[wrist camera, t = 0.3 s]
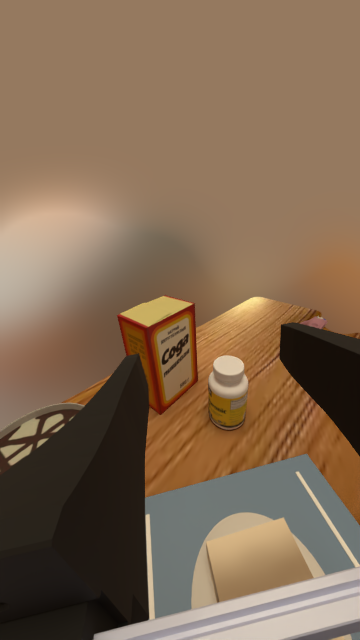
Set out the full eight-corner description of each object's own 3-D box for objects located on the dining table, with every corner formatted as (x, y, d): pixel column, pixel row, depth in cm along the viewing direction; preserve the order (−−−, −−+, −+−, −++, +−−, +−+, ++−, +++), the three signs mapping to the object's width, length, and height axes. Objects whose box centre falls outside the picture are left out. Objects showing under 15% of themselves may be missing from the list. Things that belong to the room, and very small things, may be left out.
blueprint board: (587, 847, 10) (663, 871, 8) (100, 1209, 6) (63, 1367, 5) (305, 456, 26) (311, 438, 24) (124, 506, 22) (117, 488, 21)
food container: (111, 435, 30) (93, 383, 25) (124, 474, 25) (105, 419, 21) (8, 489, 25) (-38, 436, 20) (-1, 553, 20) (-63, 501, 15)
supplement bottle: (202, 408, 33) (200, 359, 29) (230, 396, 35) (233, 348, 30) (221, 437, 28) (223, 384, 24) (252, 422, 30) (259, 369, 26)
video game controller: (300, 357, 45) (324, 337, 40) (282, 343, 46) (303, 322, 42) (312, 338, 51) (335, 318, 46) (296, 326, 53) (316, 306, 48)
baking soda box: (172, 367, 43) (164, 293, 35) (197, 381, 38) (194, 300, 31) (135, 394, 37) (116, 312, 29) (160, 415, 32) (145, 325, 25)
